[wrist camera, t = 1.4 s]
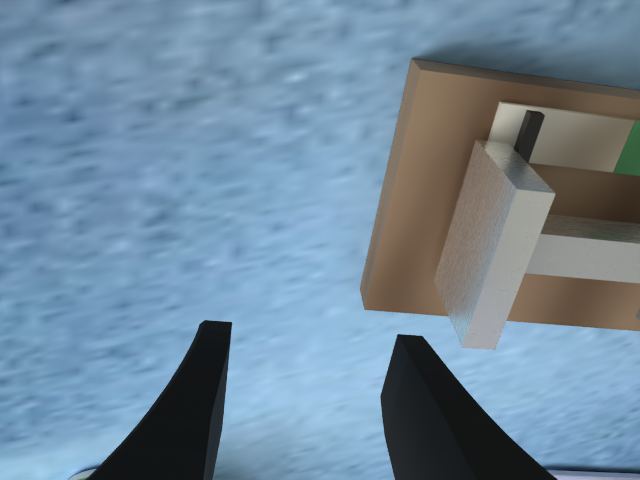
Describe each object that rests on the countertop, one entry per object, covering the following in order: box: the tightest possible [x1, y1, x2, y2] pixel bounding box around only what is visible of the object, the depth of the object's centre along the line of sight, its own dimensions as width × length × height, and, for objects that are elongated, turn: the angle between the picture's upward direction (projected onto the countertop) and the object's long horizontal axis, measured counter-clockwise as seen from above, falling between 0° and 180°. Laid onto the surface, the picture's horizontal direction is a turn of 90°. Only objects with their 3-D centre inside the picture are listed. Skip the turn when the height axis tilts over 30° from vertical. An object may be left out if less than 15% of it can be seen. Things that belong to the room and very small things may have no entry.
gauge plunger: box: [434, 110, 640, 350], centre depth 21 cm, size 10×7×4 cm
